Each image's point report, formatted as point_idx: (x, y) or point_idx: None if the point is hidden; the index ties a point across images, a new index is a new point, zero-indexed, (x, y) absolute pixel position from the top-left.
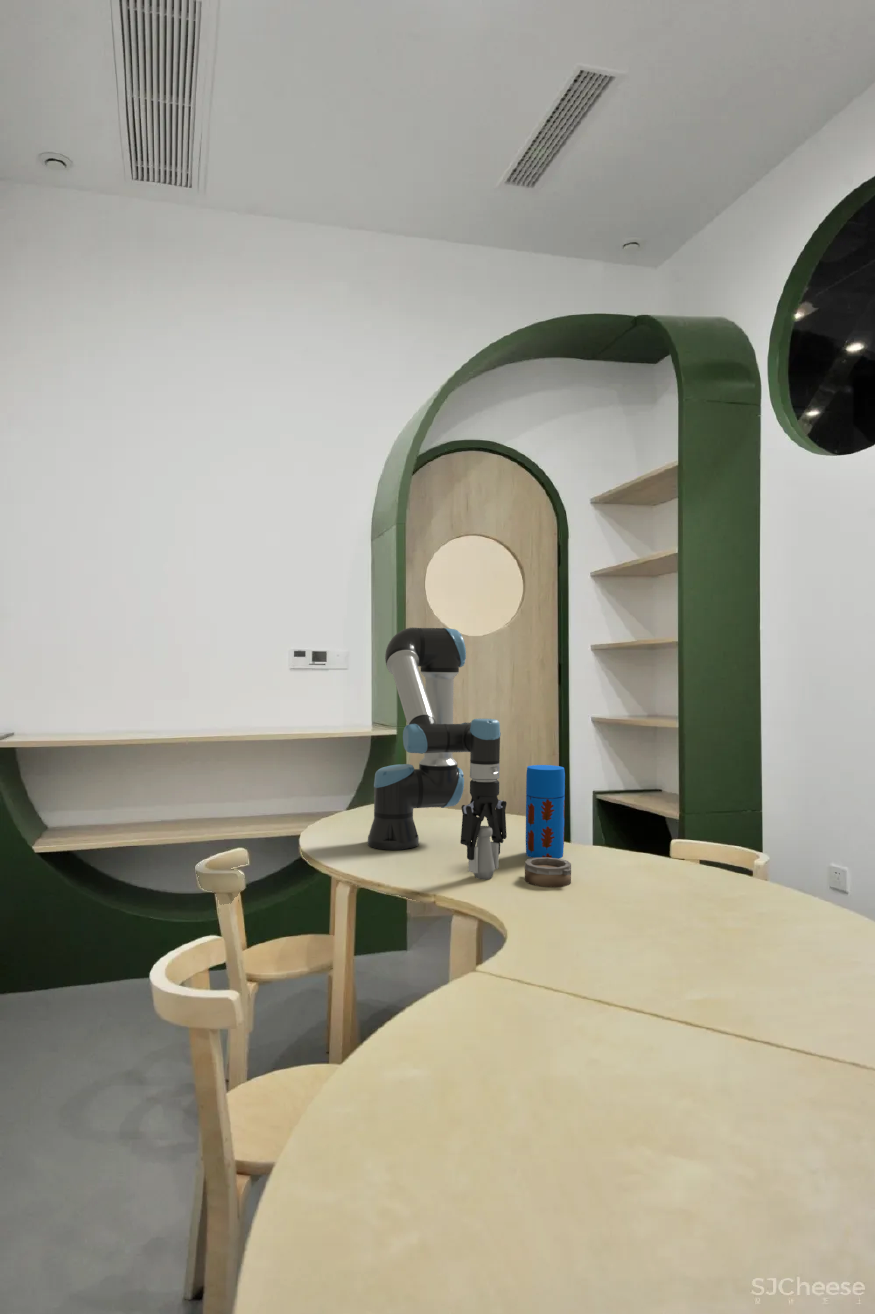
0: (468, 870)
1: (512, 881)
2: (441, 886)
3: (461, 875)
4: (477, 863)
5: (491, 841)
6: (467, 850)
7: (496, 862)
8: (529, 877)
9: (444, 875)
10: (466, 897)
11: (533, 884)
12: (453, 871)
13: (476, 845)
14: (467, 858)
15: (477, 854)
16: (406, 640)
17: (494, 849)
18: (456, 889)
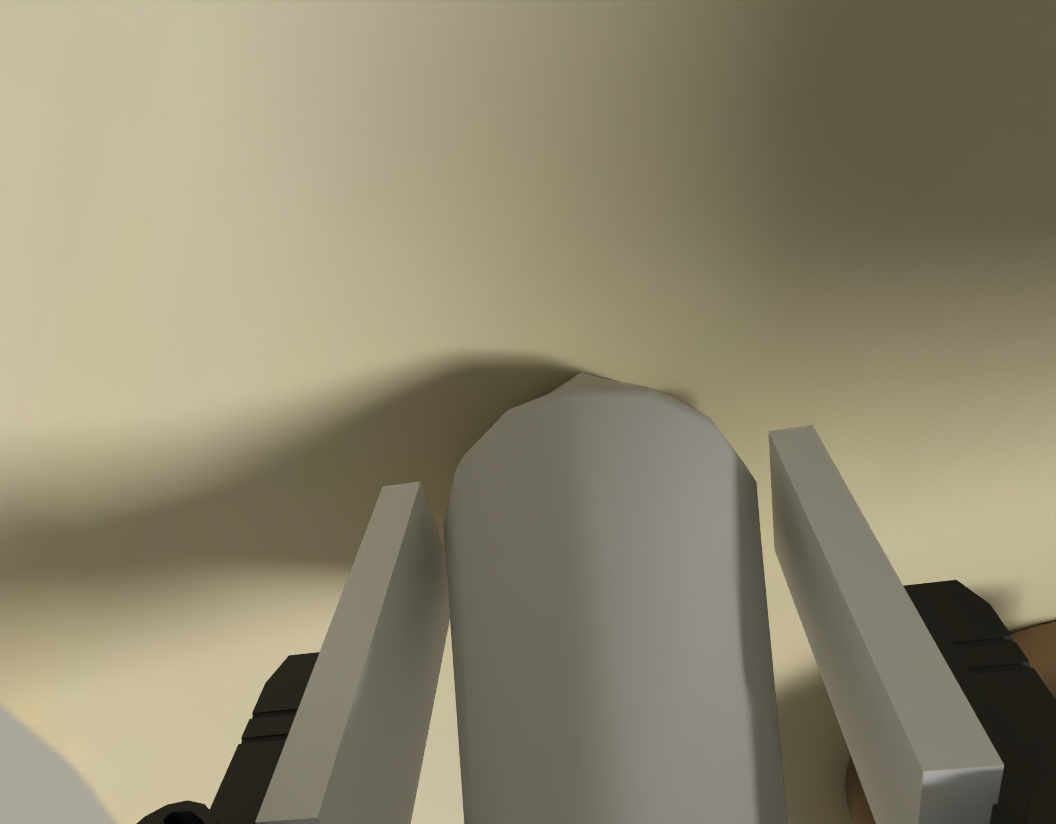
0: (380, 492)
1: (774, 668)
2: (26, 530)
3: (389, 268)
4: (429, 683)
5: (994, 769)
6: (223, 797)
7: (801, 610)
8: (868, 820)
9: (159, 163)
10: (173, 800)
11: (849, 801)
12: (366, 8)
13: (468, 799)
14: (283, 665)
15: (403, 805)
16: None
17: (860, 750)
18: (152, 647)
